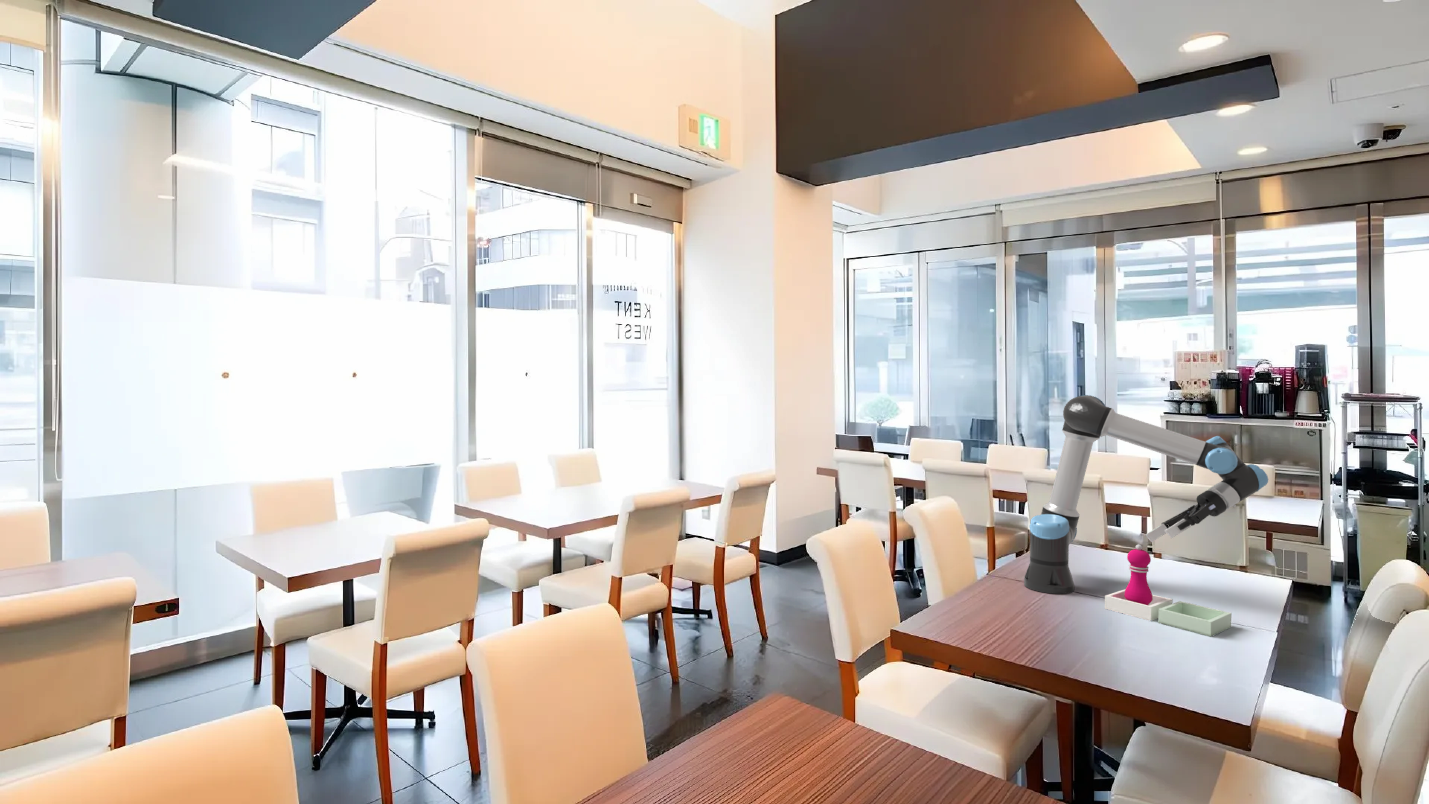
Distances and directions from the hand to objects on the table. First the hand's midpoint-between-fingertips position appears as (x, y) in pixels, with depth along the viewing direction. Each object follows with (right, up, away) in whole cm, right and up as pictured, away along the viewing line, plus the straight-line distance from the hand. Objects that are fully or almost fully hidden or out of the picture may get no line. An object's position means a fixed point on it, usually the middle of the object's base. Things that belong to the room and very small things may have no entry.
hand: (1158, 536), depth 214 cm
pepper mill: (-8, -22, -4) cm, 24 cm away
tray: (0, -22, -17) cm, 27 cm away
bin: (-8, -21, -4) cm, 23 cm away
